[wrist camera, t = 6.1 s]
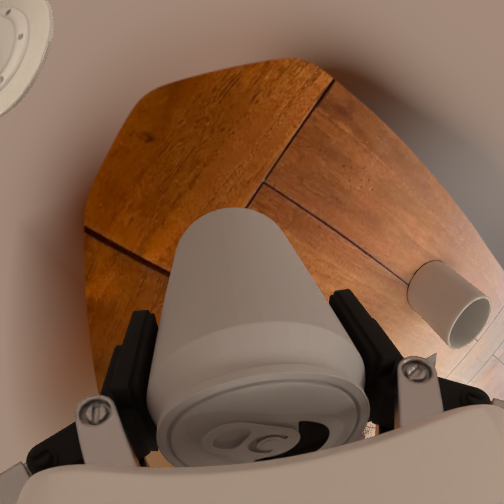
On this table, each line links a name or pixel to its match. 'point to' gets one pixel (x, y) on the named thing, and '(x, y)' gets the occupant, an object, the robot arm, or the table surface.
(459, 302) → the mug
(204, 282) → the beverage can
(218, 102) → the table surface
